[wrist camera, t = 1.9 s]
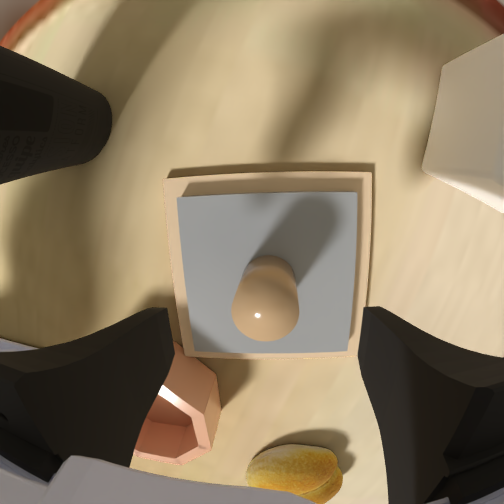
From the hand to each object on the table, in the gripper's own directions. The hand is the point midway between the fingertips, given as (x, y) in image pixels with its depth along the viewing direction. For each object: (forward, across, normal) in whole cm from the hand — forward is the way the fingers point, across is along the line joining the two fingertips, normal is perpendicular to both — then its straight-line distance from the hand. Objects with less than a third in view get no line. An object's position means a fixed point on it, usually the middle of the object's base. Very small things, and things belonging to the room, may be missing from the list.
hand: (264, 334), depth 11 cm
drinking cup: (+7, +11, -10) cm, 16 cm away
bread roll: (+7, -2, +19) cm, 20 cm away
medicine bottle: (+7, -13, -8) cm, 17 cm away
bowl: (+7, +8, +9) cm, 14 cm away
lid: (+6, 0, 0) cm, 6 cm away
